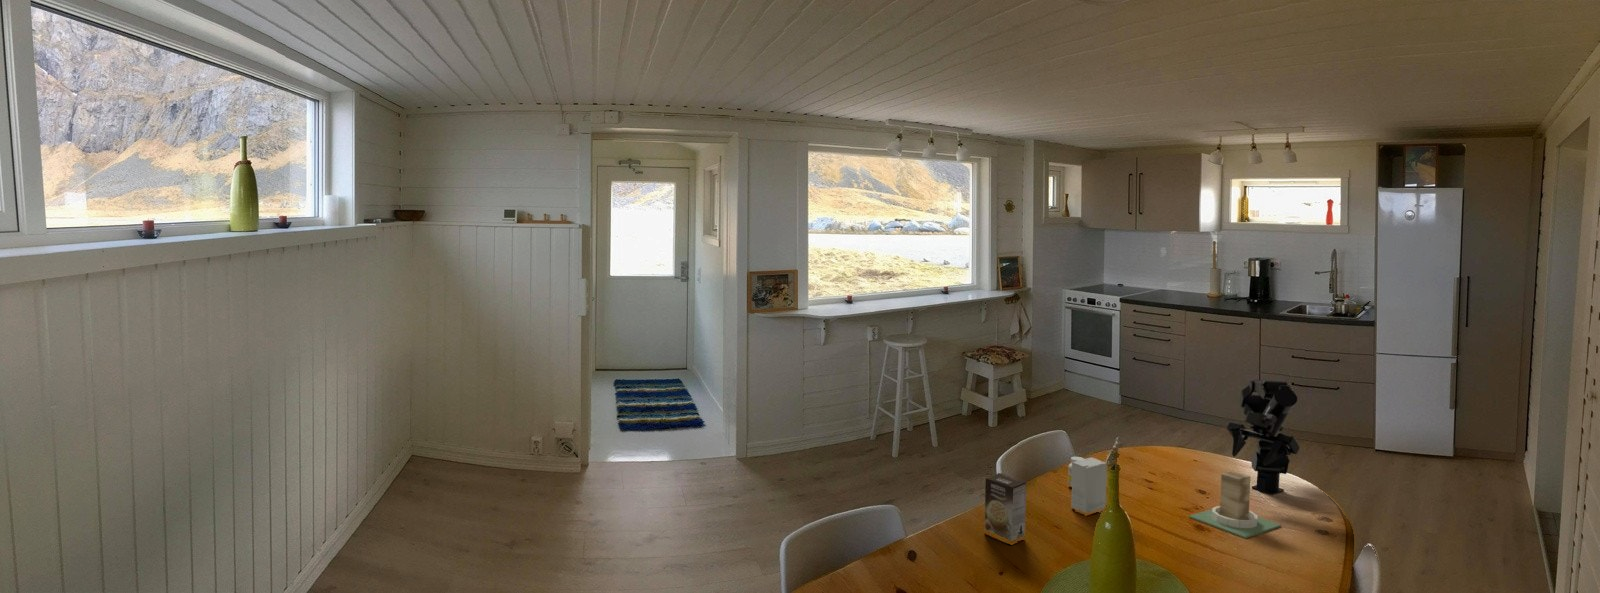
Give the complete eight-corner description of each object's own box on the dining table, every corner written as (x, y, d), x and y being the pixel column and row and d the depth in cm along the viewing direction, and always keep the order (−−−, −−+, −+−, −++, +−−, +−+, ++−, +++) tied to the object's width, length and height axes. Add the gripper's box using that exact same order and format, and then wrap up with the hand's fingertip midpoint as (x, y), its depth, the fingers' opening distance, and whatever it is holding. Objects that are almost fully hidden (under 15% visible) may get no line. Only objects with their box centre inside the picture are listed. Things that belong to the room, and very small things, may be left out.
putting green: (1224, 506, 213) (1224, 498, 213) (1280, 526, 199) (1281, 517, 199) (1188, 517, 206) (1189, 508, 206) (1245, 538, 192) (1245, 529, 191)
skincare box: (1090, 505, 216) (1091, 456, 214) (1107, 512, 210) (1108, 462, 209) (1069, 510, 212) (1070, 460, 211) (1086, 517, 207) (1087, 466, 205)
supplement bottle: (1064, 487, 230) (1065, 458, 230) (1073, 483, 234) (1074, 454, 233) (1080, 492, 226) (1081, 462, 225) (1089, 488, 230) (1089, 458, 229)
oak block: (1230, 515, 206) (1232, 470, 204) (1248, 521, 201) (1250, 476, 200) (1219, 518, 204) (1221, 473, 202) (1236, 525, 199) (1239, 479, 198)
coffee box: (983, 535, 196) (983, 477, 194) (997, 528, 200) (998, 472, 198) (1011, 546, 189) (1012, 486, 187) (1026, 540, 192) (1027, 481, 191)
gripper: (1231, 395, 222) (1207, 435, 219) (1295, 408, 206) (1270, 452, 202) (1245, 417, 227) (1222, 457, 223) (1310, 432, 210) (1285, 475, 206)
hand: (1248, 459), depth 213 cm, fingers open, 9 cm apart
